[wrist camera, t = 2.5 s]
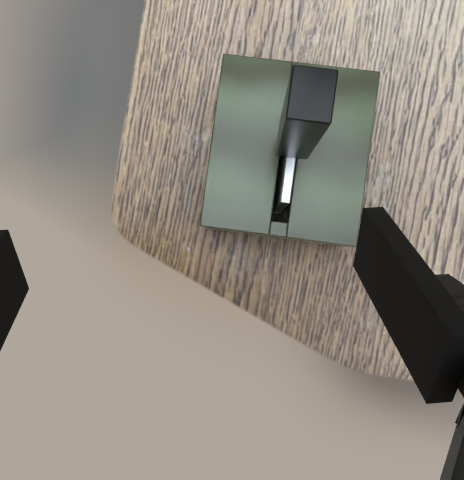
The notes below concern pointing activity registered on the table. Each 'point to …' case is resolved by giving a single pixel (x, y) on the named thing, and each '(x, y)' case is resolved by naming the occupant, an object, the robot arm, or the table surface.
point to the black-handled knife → (302, 122)
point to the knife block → (266, 162)
